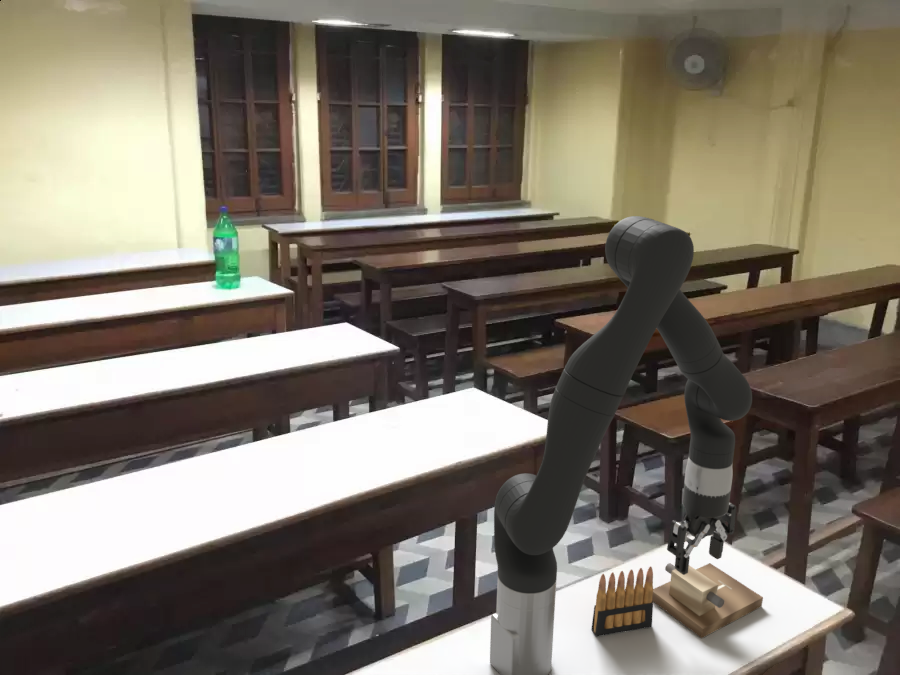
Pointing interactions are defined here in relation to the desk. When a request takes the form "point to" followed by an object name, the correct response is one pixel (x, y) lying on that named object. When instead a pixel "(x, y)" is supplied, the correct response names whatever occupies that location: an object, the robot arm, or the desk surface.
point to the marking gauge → (694, 590)
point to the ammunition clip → (623, 604)
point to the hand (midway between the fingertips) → (698, 564)
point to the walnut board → (735, 605)
